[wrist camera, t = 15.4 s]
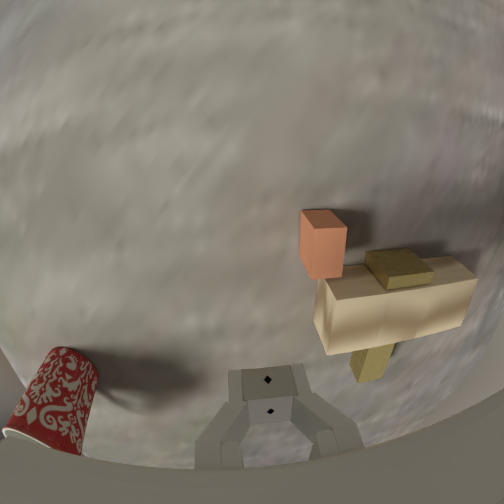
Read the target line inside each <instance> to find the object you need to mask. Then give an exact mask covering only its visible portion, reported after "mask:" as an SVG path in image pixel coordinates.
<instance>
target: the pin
mask: <svg viewBox="0 0 504 504" xmlns="http://www.w3.org/2000/svg"><path fill="white" fill-rule="evenodd" d="M364 263H365V264H366V265H367V267H368V268H369V269H370V270H371V271H372V273H373V274H374V275H375V276H376V278H377V279H378V280H379V281H380V282H381V284H382V285H383V286H384V287H385V289H386V290H391V289H398V288H405V287H411V286H418V285H424V284H430V283H431V281H432V278H433V274H434V271H433V270H432V269H431V268H430V267H429V266H428V265H427V264H425V263H424V262H423V261H422V260H421V259H420V258H419V257H418V256H417V255H415V254H414V253H413V252H412V251H411V250H410V249H409V248H399V249H387V250H374V251H366V254H365V261H364ZM394 345H395V343H392V344H387V345H383V346H378V347H373V348H368V349H362V350H357V351H353V353H352V357H351V360H350V364H349V365H350V367H351V369H352V371H353V374H354V376H355V378H356V381H357V383H361V382H366V381H370V380H375V379H379V378H382V376H383V374H384V371H385V369H386V366H387V364H388V361H389V358H390V356H391V353H392V350H393V347H394Z"/></svg>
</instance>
